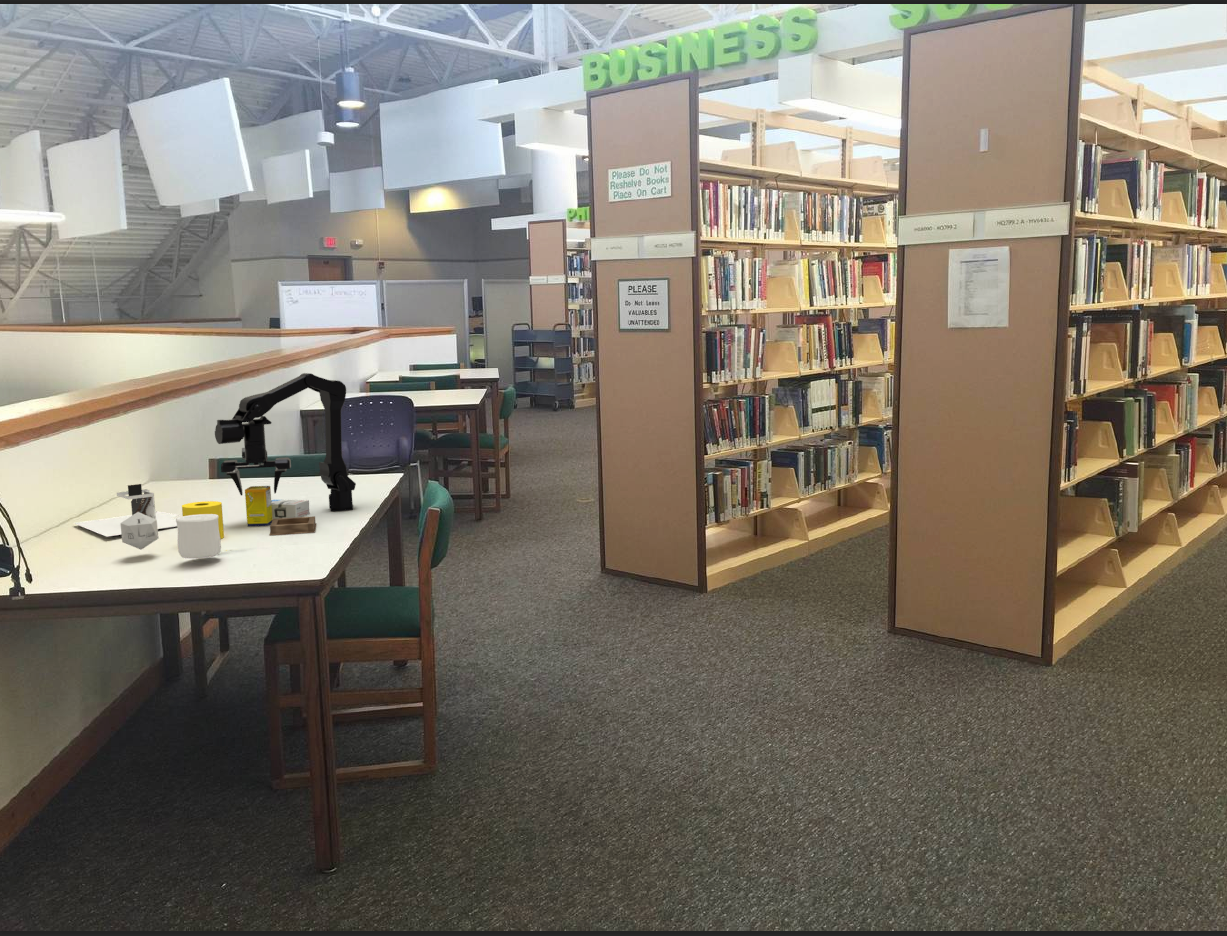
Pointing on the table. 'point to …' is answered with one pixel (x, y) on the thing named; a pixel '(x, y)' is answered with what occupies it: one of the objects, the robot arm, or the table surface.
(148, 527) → the die
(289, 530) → the base
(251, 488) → the supplement box
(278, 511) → the ink box
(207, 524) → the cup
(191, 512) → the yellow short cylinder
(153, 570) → the table surface
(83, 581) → the table surface
